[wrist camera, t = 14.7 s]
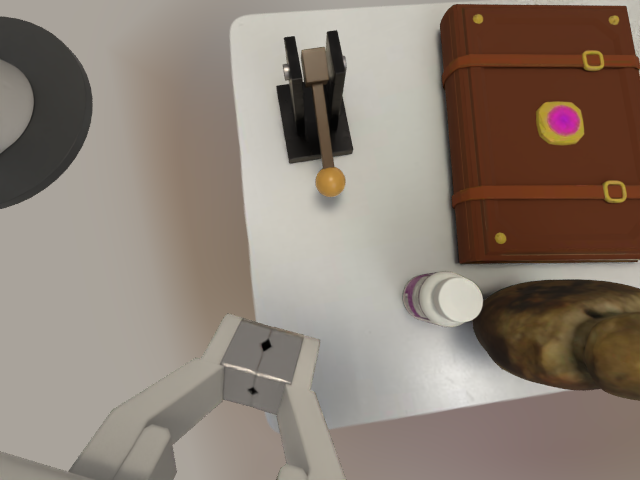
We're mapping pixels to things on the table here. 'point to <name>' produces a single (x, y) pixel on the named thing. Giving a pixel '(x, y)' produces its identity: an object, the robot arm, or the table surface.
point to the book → (543, 132)
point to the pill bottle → (443, 299)
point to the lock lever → (322, 120)
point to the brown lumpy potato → (566, 334)
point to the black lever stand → (301, 107)
